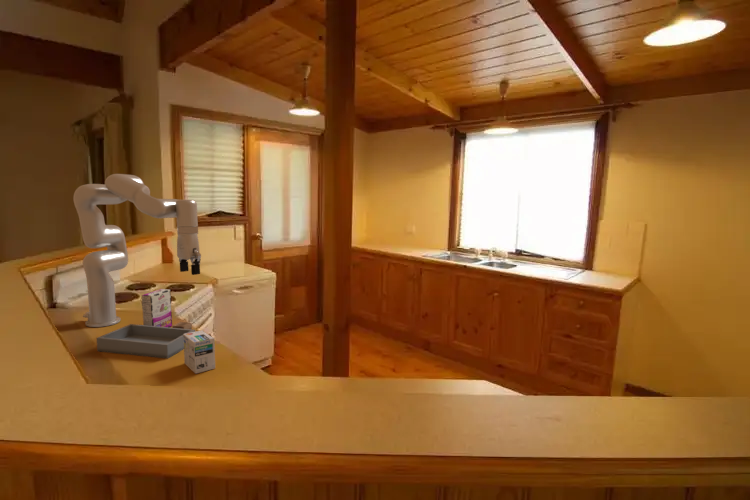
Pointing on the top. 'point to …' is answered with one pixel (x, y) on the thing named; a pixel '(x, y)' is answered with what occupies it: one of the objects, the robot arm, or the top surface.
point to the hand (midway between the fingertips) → (190, 272)
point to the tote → (143, 341)
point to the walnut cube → (183, 325)
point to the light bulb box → (199, 351)
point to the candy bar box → (157, 308)
